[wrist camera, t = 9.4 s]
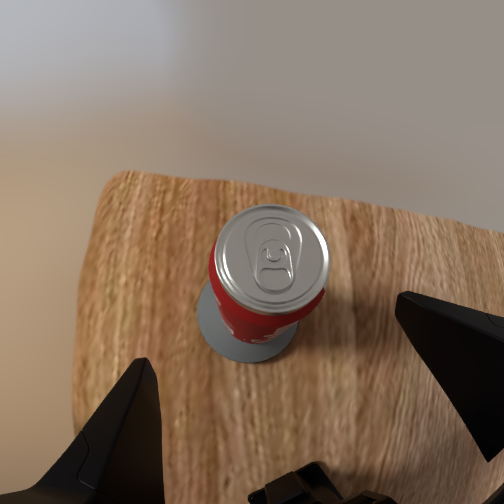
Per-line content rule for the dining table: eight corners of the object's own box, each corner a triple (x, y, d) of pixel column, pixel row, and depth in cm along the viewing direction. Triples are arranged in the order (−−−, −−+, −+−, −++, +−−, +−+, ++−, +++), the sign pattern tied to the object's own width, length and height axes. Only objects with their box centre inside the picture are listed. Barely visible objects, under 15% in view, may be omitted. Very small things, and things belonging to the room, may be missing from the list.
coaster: (314, 330, 22) (317, 329, 22) (229, 380, 20) (229, 381, 20) (265, 251, 25) (266, 247, 24) (181, 294, 23) (180, 291, 22)
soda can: (286, 279, 23) (330, 199, 12) (288, 343, 21) (345, 319, 10) (221, 279, 23) (209, 194, 12) (220, 344, 21) (202, 321, 10)
